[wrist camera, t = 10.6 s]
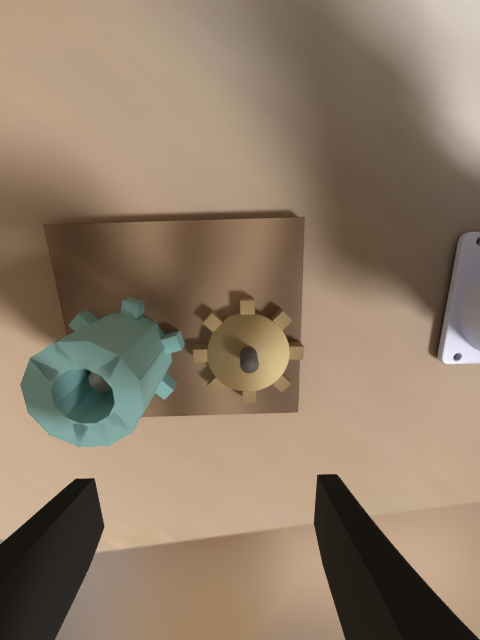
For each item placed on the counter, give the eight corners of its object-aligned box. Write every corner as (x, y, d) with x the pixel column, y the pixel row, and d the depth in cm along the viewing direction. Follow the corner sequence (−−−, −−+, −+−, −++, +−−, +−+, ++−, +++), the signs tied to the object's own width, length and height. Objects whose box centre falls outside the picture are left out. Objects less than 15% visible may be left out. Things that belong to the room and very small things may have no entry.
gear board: (301, 218, 15) (326, 206, 11) (295, 405, 18) (312, 452, 14) (54, 226, 15) (-18, 216, 11) (91, 411, 18) (47, 460, 14)
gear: (180, 295, 15) (154, 317, 10) (189, 400, 17) (170, 460, 12) (62, 299, 15) (-20, 322, 10) (84, 403, 17) (22, 465, 12)
